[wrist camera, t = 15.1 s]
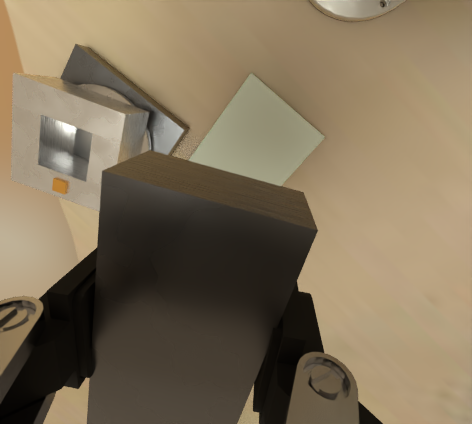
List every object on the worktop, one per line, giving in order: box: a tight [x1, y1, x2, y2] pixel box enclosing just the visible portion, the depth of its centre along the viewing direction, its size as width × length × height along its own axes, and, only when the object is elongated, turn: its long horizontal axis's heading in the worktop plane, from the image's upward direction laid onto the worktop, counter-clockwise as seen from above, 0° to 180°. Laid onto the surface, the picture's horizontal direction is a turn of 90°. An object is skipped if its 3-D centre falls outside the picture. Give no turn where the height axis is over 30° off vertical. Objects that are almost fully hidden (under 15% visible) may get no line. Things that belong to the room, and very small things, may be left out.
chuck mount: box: [60, 44, 189, 156], centre depth 31 cm, size 13×13×2 cm
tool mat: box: [188, 73, 325, 186], centre depth 31 cm, size 12×10×1 cm
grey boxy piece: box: [11, 73, 151, 212], centre depth 27 cm, size 11×11×6 cm
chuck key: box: [87, 150, 318, 424], centre depth 12 cm, size 9×4×9 cm, turn 166°
